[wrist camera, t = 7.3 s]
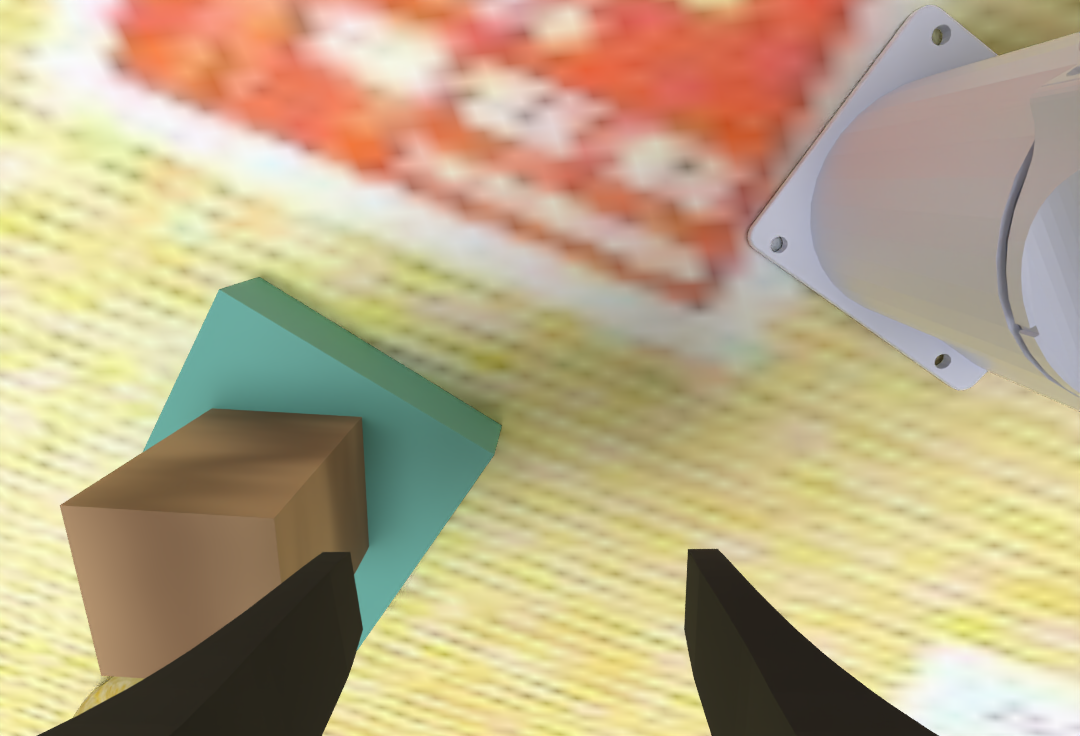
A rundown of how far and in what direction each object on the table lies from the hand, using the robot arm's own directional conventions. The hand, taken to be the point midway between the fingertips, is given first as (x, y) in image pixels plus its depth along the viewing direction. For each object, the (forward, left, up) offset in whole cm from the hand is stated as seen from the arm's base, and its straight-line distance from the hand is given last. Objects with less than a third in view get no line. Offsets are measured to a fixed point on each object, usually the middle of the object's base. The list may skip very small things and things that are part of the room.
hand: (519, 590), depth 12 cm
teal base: (+6, +6, -10) cm, 13 cm away
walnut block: (+6, +6, -7) cm, 11 cm away
